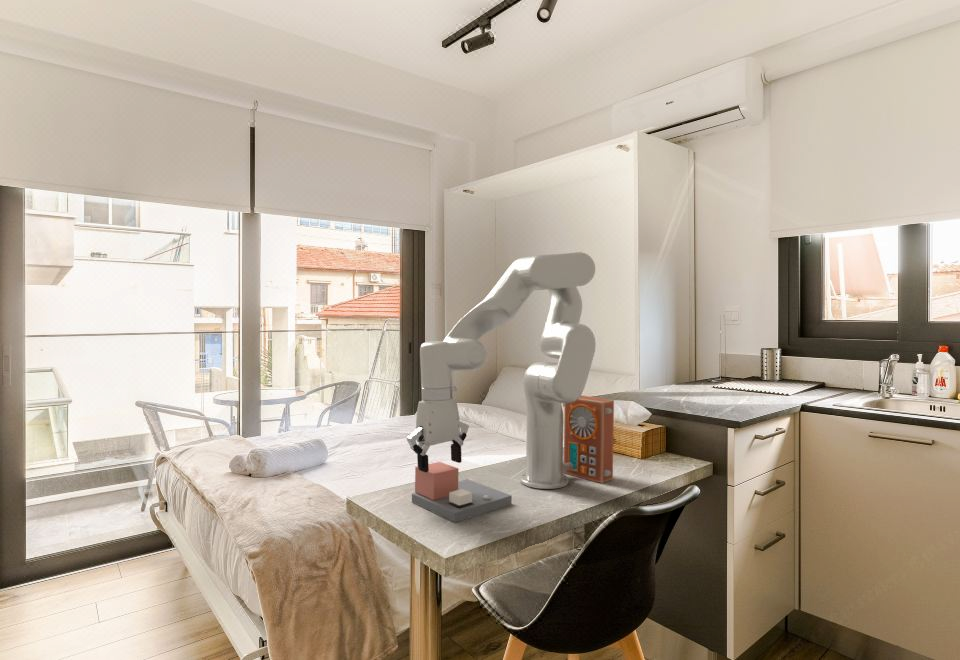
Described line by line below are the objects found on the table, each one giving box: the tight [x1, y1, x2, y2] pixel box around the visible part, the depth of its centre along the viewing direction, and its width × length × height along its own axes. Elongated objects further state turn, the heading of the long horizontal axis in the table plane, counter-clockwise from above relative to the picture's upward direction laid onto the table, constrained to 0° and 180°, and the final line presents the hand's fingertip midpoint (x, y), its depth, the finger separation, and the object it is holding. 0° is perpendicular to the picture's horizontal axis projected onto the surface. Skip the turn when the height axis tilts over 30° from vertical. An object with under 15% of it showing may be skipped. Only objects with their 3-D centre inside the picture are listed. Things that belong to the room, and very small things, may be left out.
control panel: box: [562, 394, 615, 484], centre depth 148 cm, size 21×7×15 cm
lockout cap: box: [414, 461, 459, 500], centre depth 128 cm, size 7×7×6 cm
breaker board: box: [411, 478, 513, 523], centre depth 127 cm, size 17×16×3 cm
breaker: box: [449, 489, 472, 506], centre depth 121 cm, size 4×4×2 cm
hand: (440, 466), depth 128 cm, fingers open, 9 cm apart
